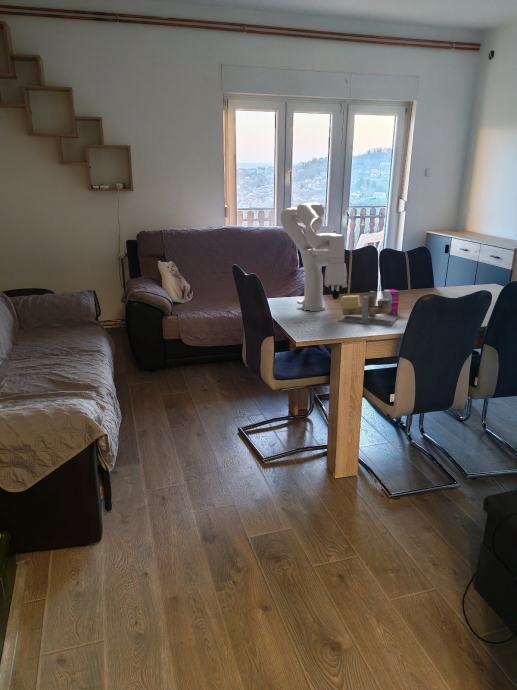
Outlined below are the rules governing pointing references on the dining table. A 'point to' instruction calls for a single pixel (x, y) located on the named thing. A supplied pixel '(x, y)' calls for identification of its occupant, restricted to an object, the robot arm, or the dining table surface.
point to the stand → (368, 315)
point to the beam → (372, 308)
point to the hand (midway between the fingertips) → (335, 298)
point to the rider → (351, 302)
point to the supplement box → (392, 299)
